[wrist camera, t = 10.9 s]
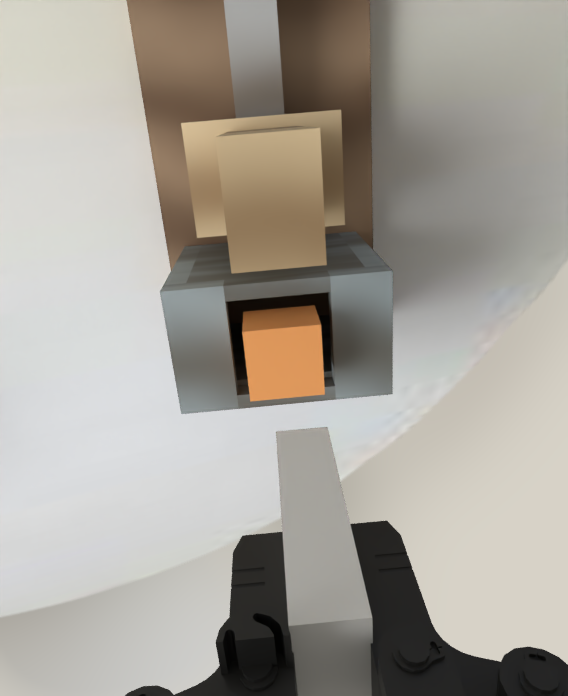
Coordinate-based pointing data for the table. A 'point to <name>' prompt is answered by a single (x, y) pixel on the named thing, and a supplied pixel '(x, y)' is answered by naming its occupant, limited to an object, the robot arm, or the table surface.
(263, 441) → the table surface
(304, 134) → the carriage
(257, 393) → the button
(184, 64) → the rail track
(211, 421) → the table surface
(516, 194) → the table surface
